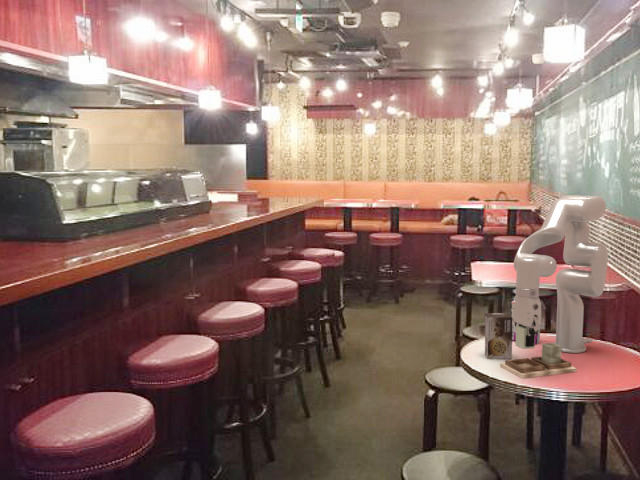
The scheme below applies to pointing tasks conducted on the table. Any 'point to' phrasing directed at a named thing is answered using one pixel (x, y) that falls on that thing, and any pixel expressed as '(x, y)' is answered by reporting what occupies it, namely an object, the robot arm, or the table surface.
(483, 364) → the table surface
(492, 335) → the cookie box
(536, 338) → the candy bar box
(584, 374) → the table surface
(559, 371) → the socket base
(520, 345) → the sage block
